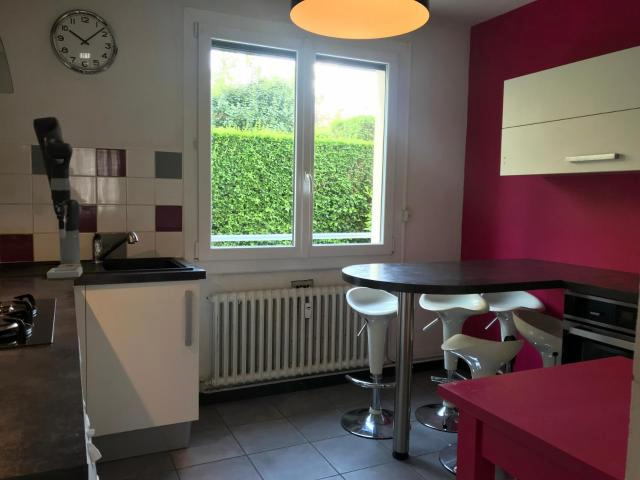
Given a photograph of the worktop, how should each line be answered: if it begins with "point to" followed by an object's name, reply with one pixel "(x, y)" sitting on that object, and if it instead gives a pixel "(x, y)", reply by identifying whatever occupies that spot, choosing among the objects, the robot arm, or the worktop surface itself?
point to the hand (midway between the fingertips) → (62, 228)
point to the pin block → (69, 265)
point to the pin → (62, 232)
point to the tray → (64, 273)
